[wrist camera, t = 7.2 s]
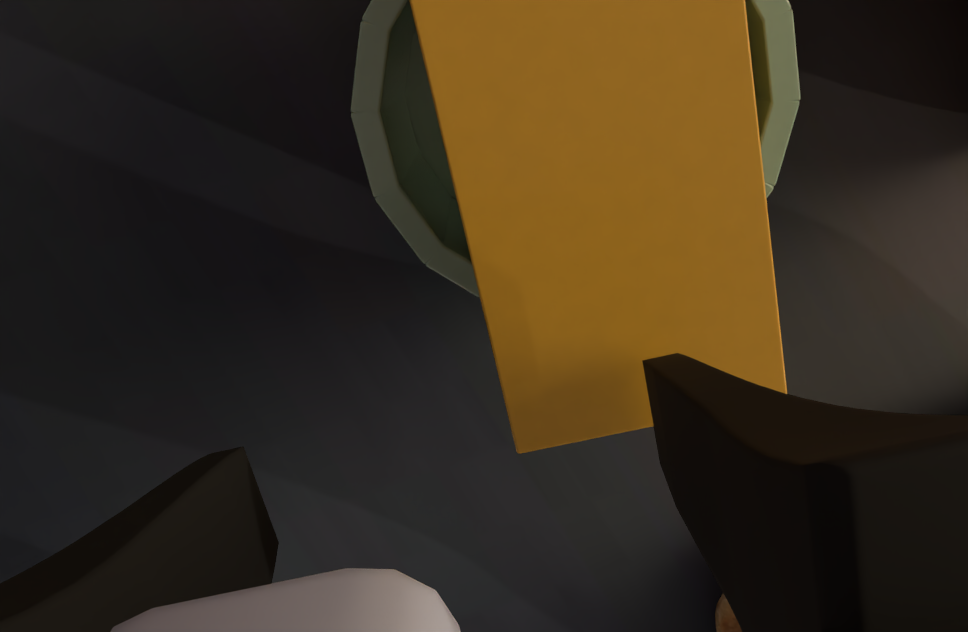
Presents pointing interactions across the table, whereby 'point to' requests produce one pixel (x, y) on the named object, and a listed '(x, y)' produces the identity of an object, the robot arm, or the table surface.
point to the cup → (419, 146)
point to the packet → (605, 198)
